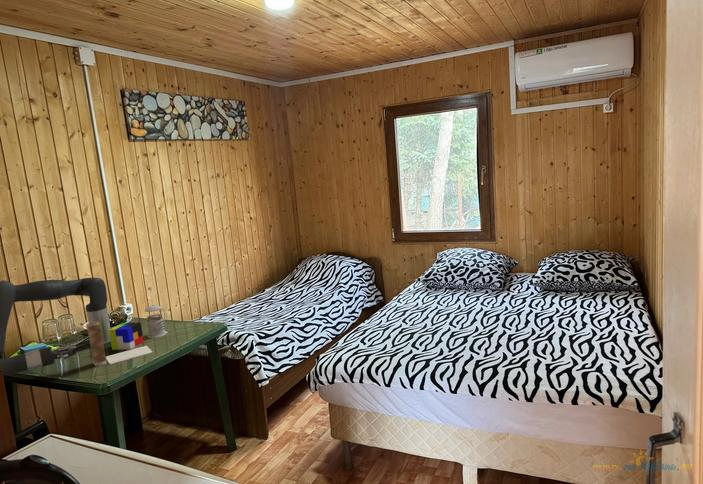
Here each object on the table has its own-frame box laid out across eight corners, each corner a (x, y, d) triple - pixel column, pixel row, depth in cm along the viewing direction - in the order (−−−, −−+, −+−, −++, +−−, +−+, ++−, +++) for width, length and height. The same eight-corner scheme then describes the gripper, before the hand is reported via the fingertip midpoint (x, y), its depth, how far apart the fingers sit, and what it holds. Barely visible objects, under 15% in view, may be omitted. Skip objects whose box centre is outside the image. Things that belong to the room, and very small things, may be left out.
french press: (142, 336, 245) (135, 289, 241) (162, 329, 255) (155, 283, 251) (155, 338, 240) (147, 290, 236) (174, 331, 249) (167, 284, 246)
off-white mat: (109, 364, 209) (109, 363, 209) (105, 357, 219) (105, 356, 219) (152, 352, 219) (152, 351, 219) (146, 346, 229) (146, 345, 229)
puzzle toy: (130, 349, 227) (127, 329, 226) (112, 349, 229) (108, 329, 228) (143, 341, 237) (140, 322, 235) (125, 342, 239) (122, 322, 237)
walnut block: (95, 366, 209) (88, 326, 206) (93, 362, 213) (86, 324, 211) (106, 363, 211) (99, 324, 209) (104, 359, 216) (97, 321, 213)
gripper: (38, 353, 193) (87, 341, 203) (37, 345, 204) (83, 334, 214) (42, 371, 194) (90, 358, 204) (40, 362, 205) (86, 350, 215)
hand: (86, 346), depth 209 cm, fingers closed
